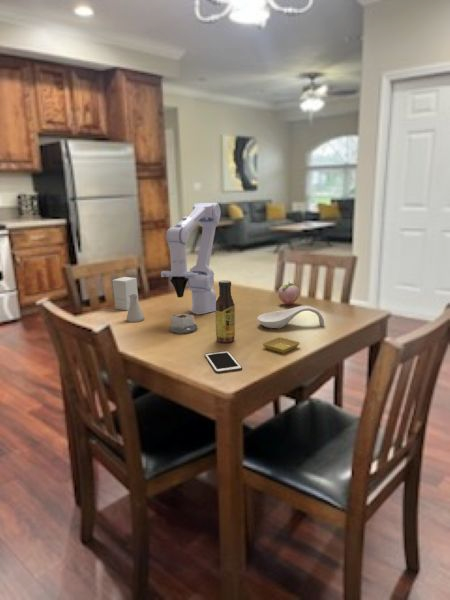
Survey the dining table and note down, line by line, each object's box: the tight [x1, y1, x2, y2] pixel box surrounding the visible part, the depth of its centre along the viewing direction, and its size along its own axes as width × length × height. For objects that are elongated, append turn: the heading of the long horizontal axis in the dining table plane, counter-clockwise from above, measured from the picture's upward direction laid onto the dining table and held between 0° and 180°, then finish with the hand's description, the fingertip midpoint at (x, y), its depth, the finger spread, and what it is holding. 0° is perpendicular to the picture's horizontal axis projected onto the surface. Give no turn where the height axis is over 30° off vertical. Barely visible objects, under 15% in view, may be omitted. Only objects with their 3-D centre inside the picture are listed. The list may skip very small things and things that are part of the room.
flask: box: [125, 293, 145, 323], centre depth 175 cm, size 7×7×10 cm
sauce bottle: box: [215, 279, 236, 344], centre depth 148 cm, size 7×6×20 cm
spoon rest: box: [257, 305, 325, 329], centre depth 163 cm, size 24×12×7 cm, turn 90°
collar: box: [170, 313, 195, 330], centre depth 162 cm, size 6×6×4 cm
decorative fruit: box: [277, 282, 300, 306], centre depth 190 cm, size 9×8×10 cm
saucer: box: [262, 336, 301, 354], centre depth 142 cm, size 9×9×2 cm
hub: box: [168, 317, 198, 335], centre depth 162 cm, size 10×10×4 cm
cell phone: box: [204, 350, 243, 374], centre depth 132 cm, size 8×15×1 cm, turn 16°
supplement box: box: [112, 276, 140, 311], centre depth 193 cm, size 7×7×13 cm
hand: (180, 296), depth 169 cm, fingers closed
